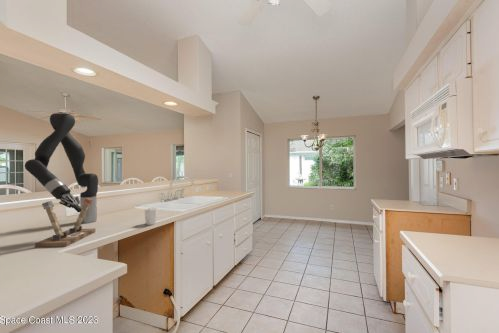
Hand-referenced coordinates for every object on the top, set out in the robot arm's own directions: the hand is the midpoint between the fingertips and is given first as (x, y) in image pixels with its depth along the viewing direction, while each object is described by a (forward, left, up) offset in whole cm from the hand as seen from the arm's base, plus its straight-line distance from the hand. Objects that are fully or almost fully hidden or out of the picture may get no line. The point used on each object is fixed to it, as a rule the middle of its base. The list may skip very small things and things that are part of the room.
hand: (81, 211), depth 127 cm
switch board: (+6, -3, -13) cm, 15 cm away
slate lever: (+12, -3, -10) cm, 16 cm away
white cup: (-23, +30, -14) cm, 41 cm away
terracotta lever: (0, -3, -10) cm, 10 cm away
